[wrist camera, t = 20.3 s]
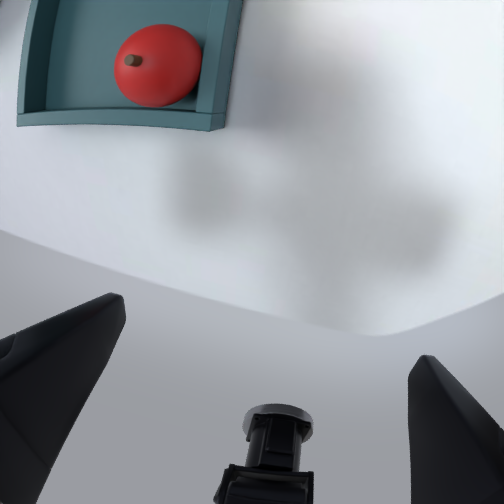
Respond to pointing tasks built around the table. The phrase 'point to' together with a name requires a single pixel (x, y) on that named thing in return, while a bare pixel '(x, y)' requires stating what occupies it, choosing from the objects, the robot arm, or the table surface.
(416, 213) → the table surface
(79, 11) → the tray
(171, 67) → the apple
